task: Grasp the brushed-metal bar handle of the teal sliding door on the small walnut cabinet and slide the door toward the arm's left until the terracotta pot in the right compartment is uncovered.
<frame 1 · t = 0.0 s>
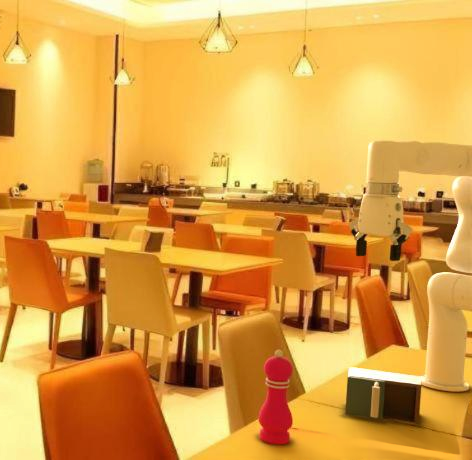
hand: (377, 258, 191), 37 cm above the table, tool pointing down, fingers open, 9 cm apart
cabinet: (381, 415, 184), on the table
pepper mill: (274, 440, 166), on the table
sliding door: (364, 401, 178), point 5 cm above the table, slide at 0.0 cm
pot: (361, 410, 185), resting on cabinet
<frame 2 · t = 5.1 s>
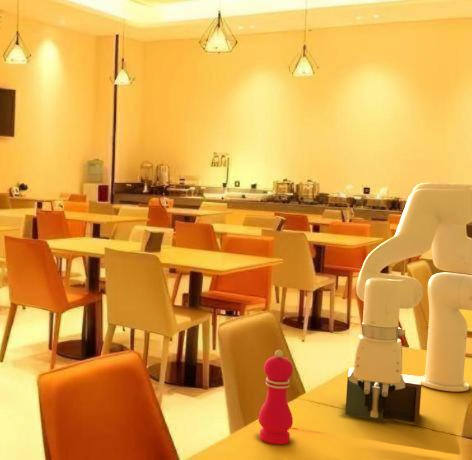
hand: (374, 410, 175), 4 cm above the table, tool pointing down, fingers closed on sliding door
sliding door: (364, 401, 178), point 5 cm above the table, slide at 0.0 cm, touching gripper
everything else where it was.
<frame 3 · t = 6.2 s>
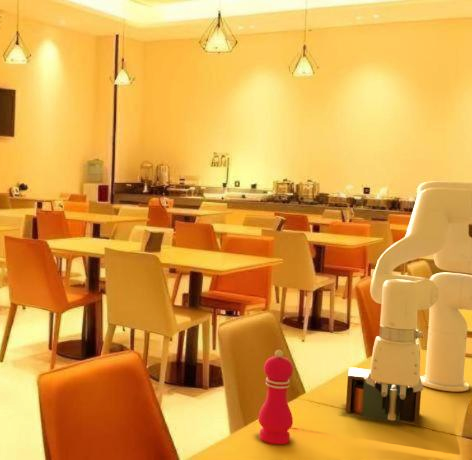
hand: (392, 412, 173), 4 cm above the table, tool pointing down, fingers closed on sliding door
sliding door: (381, 404, 176), point 5 cm above the table, slide at 3.7 cm, touching gripper
everything else where it was.
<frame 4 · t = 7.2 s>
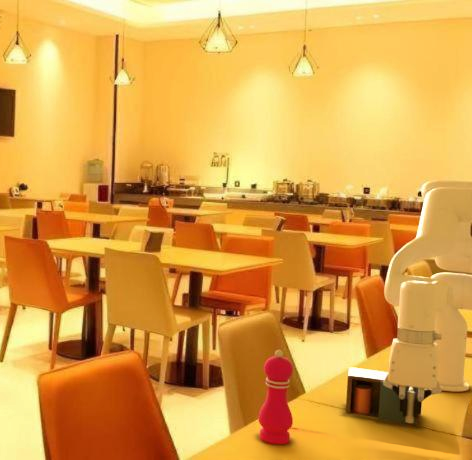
hand: (409, 415, 172), 4 cm above the table, tool pointing down, fingers closed on sliding door
sliding door: (398, 406, 175), point 5 cm above the table, slide at 7.3 cm, touching gripper
everything else where it was.
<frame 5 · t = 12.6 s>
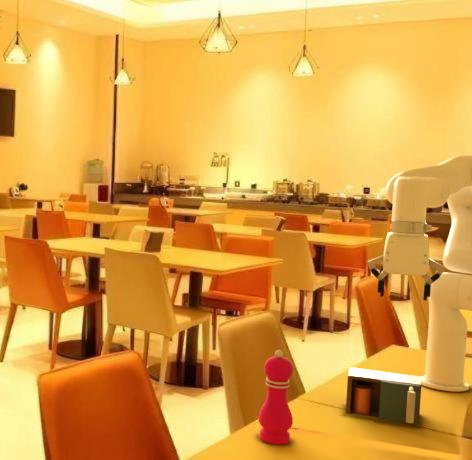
hand: (403, 297, 186), 28 cm above the table, tool pointing down, fingers open, 9 cm apart
sliding door: (398, 406, 175), point 5 cm above the table, slide at 7.4 cm
everything else where it was.
at the end: sliding door slide at 7.4 cm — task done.
